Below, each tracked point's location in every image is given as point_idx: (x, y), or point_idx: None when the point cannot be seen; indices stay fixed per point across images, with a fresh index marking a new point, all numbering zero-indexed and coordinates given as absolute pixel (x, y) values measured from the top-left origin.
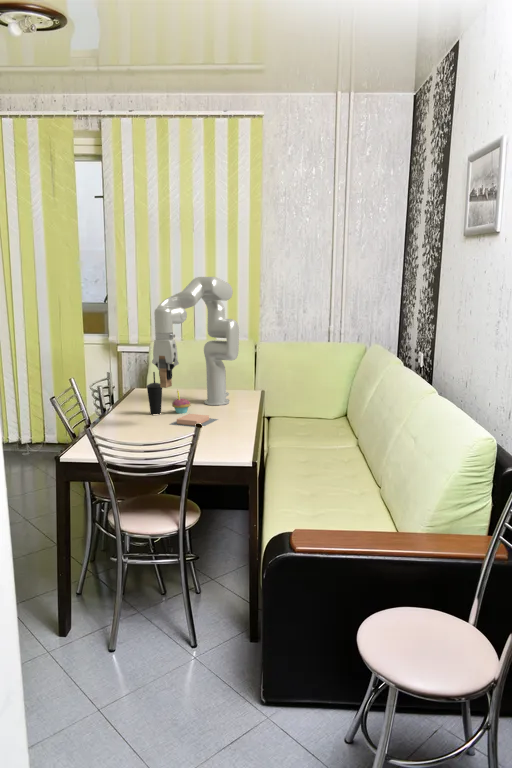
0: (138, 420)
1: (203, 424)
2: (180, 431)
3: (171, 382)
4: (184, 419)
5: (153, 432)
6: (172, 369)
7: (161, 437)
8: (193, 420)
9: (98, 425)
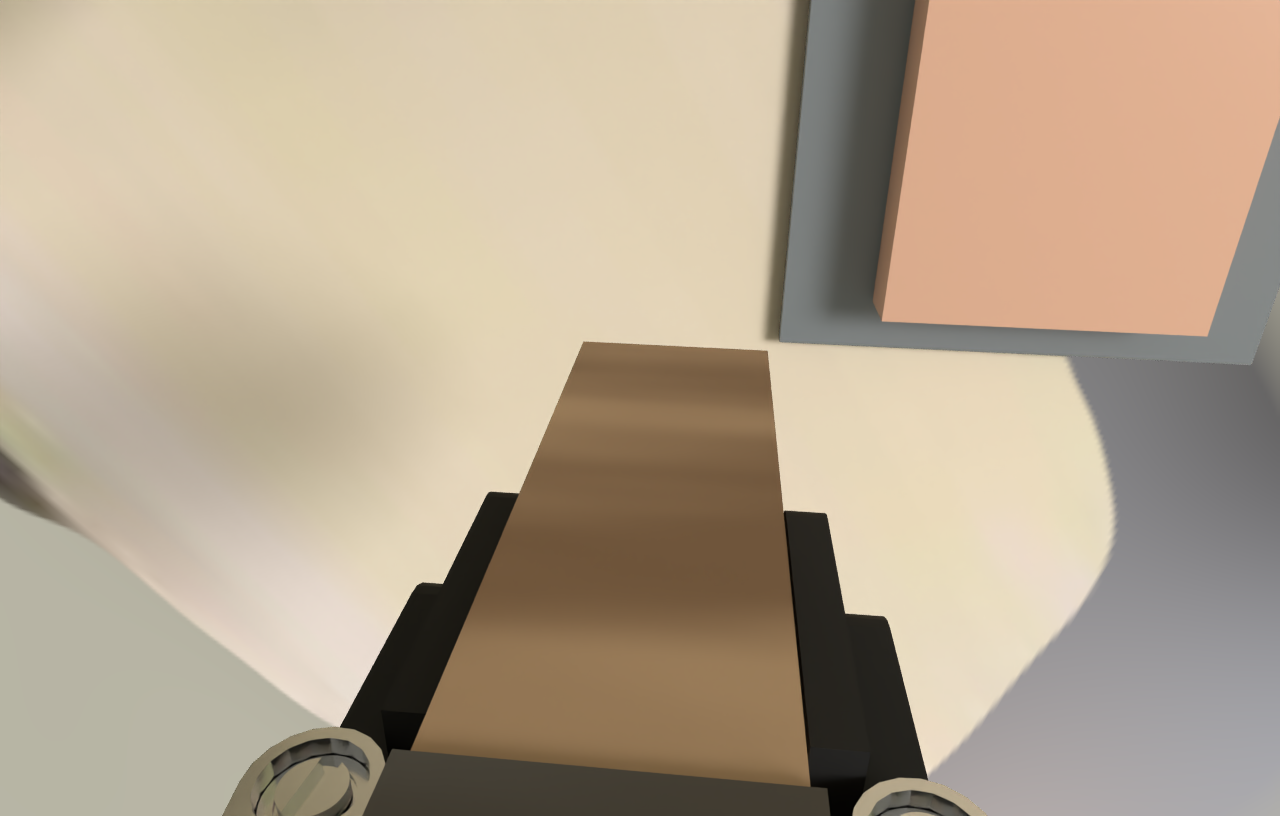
0: (283, 228)
1: (1249, 209)
2: (1017, 499)
3: (770, 402)
4: (998, 304)
5: None
6: (942, 793)
7: (912, 703)
8: (1148, 315)
9: (93, 527)
